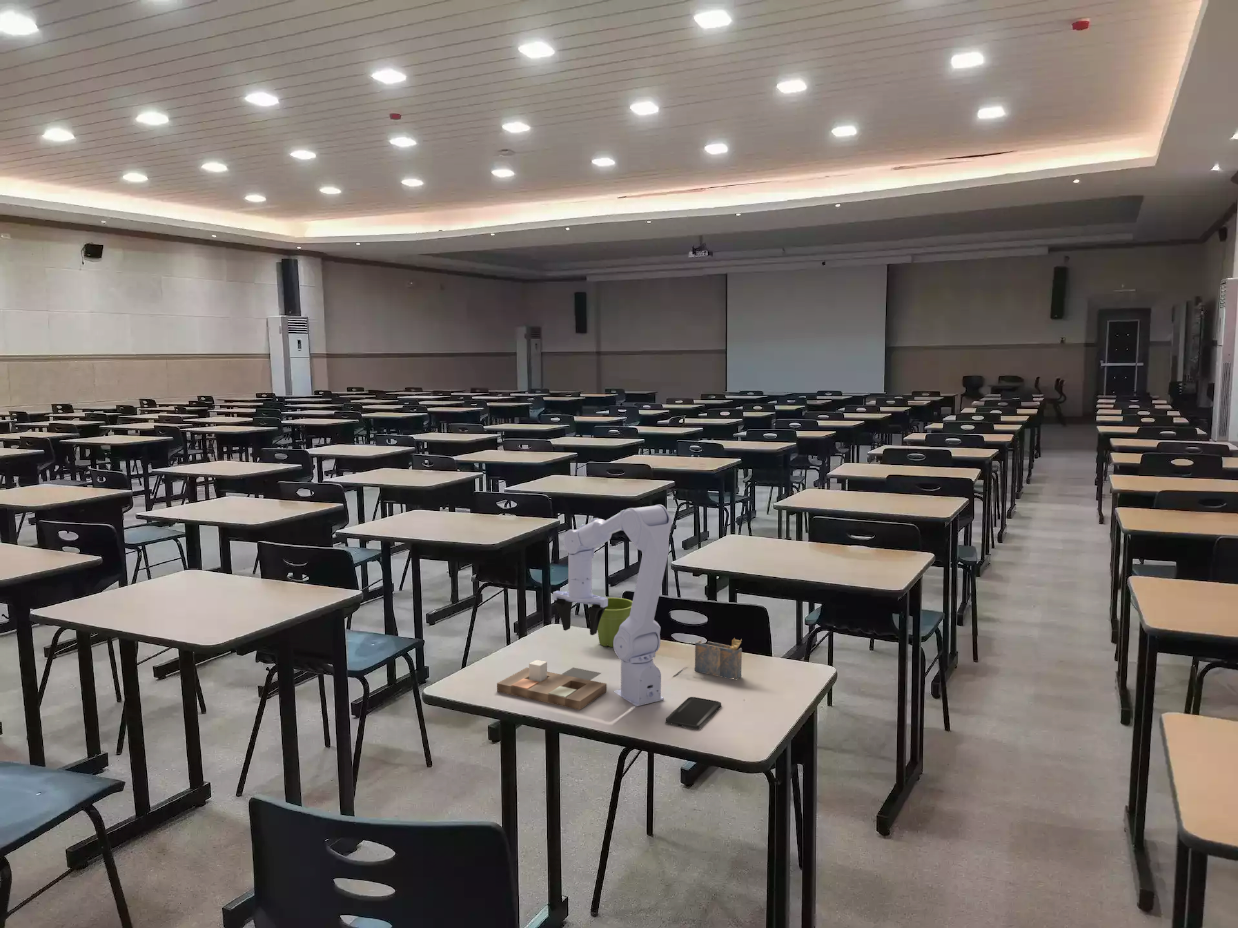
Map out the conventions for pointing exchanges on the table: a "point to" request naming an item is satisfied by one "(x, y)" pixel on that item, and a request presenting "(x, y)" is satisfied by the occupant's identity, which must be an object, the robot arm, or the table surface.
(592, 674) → the grey square plate
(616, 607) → the plant pot
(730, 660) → the weathered storage box
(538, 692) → the socket block
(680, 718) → the phone
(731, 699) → the table surface
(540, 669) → the plug
